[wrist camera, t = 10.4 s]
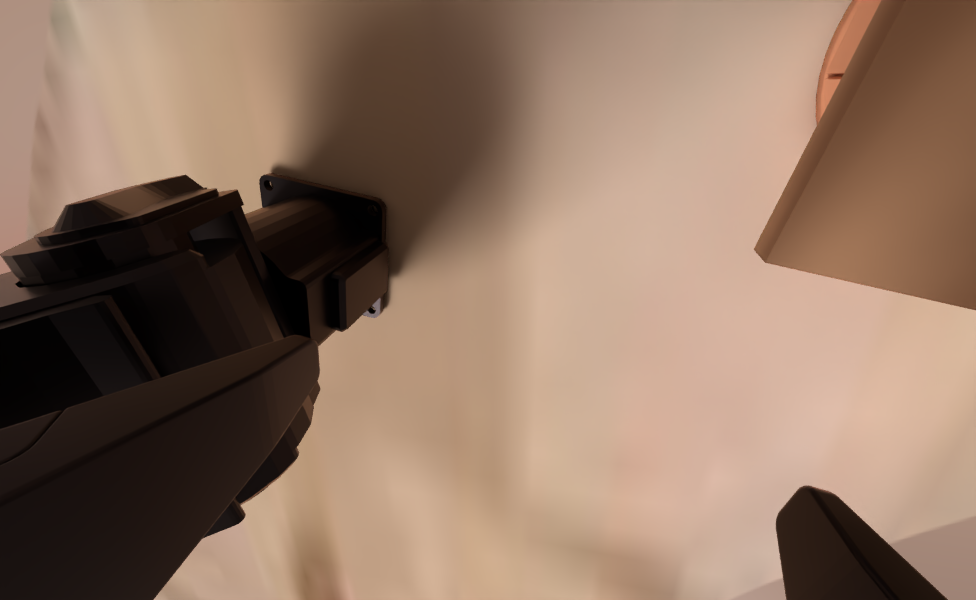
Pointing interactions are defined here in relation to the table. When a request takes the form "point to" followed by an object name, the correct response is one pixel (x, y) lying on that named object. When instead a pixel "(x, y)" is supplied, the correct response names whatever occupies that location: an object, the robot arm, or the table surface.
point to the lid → (892, 162)
